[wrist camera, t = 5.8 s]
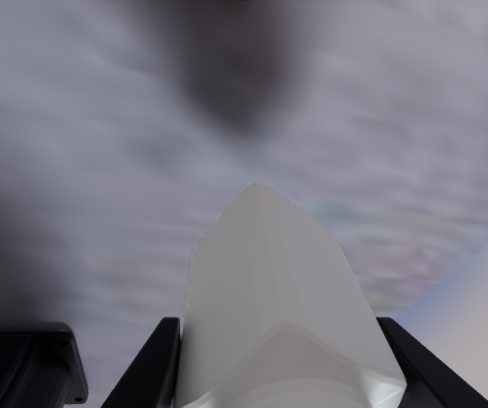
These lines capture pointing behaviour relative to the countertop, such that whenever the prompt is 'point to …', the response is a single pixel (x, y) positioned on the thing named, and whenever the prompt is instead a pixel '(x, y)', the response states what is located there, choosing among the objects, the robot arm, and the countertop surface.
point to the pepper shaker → (279, 317)
